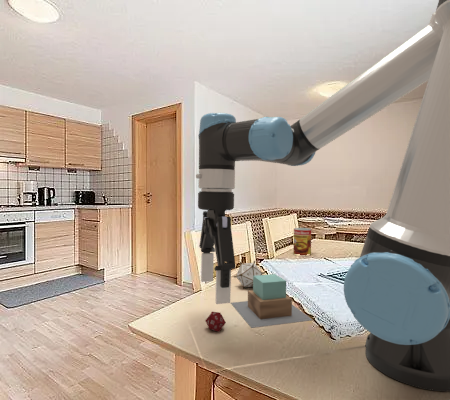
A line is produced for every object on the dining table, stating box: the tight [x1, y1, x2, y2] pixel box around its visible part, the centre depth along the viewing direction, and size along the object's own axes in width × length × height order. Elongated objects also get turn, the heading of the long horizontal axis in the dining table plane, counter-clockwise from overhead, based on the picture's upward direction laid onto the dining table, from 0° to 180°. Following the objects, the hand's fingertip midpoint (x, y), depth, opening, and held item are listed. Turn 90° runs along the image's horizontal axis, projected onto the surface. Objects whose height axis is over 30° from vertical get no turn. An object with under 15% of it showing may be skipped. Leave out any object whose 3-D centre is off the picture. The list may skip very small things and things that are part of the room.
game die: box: [233, 260, 266, 290], centre depth 93 cm, size 9×8×10 cm
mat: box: [230, 300, 313, 329], centre depth 75 cm, size 15×15×1 cm
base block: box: [247, 289, 293, 319], centre depth 75 cm, size 8×8×4 cm
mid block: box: [252, 273, 287, 300], centre depth 75 cm, size 6×6×4 cm
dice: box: [204, 311, 226, 333], centre depth 65 cm, size 4×4×4 cm
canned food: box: [293, 227, 312, 255], centre depth 142 cm, size 8×8×12 cm
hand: (214, 291), depth 65 cm, fingers open, 13 cm apart
